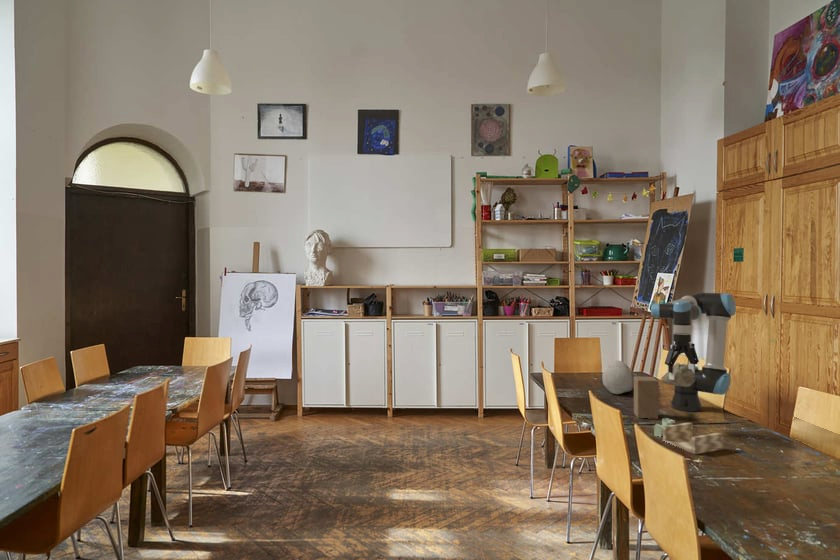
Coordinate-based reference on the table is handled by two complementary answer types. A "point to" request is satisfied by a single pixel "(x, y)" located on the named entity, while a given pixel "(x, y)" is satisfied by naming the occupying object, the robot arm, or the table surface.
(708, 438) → the cradle
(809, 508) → the table surface
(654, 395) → the wooden block
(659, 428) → the clip
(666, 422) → the clip
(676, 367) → the lumpy boulder
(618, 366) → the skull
